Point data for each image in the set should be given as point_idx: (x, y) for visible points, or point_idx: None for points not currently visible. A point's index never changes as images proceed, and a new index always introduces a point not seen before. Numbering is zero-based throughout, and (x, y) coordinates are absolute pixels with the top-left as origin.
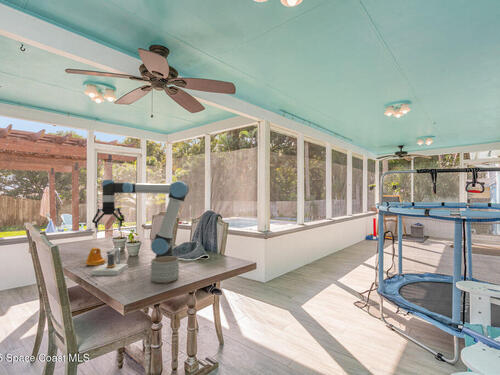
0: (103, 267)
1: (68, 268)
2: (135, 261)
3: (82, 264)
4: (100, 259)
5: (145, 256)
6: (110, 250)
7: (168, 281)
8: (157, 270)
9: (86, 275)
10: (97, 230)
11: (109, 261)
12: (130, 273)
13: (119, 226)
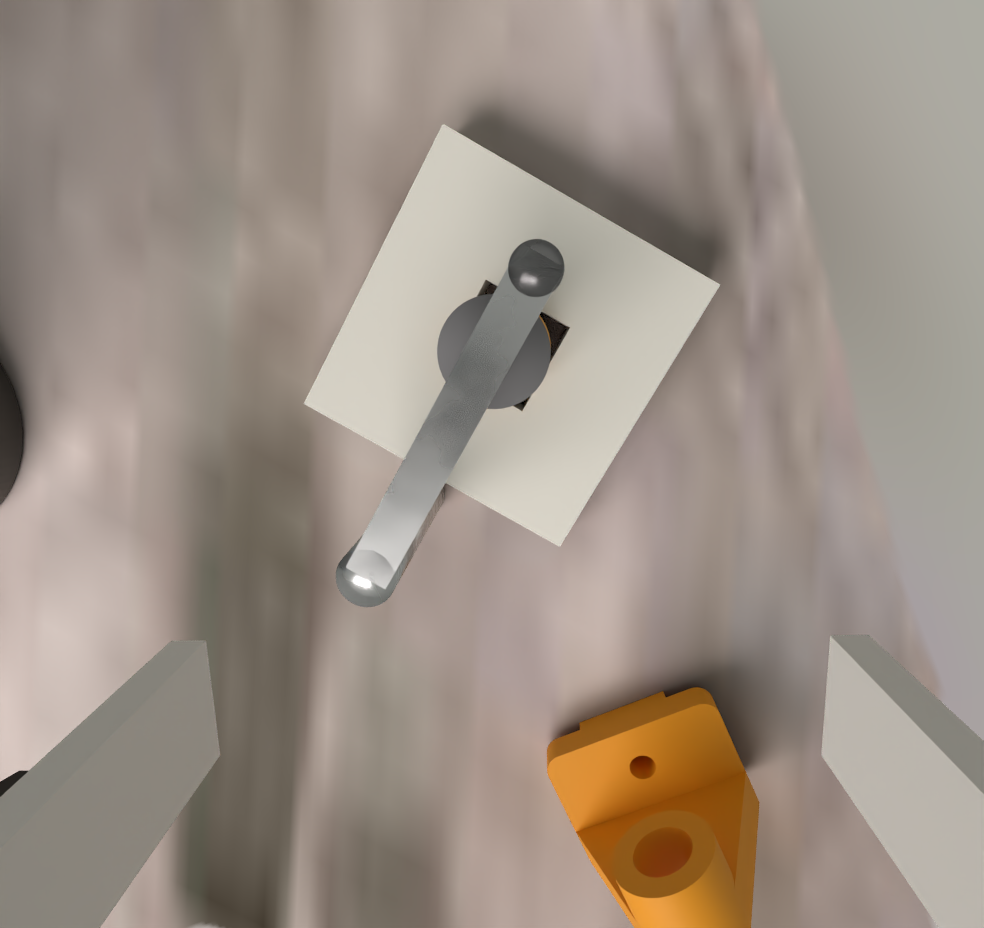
0: (589, 368)
1: None
2: (223, 661)
3: (781, 818)
4: (598, 820)
5: None
6: (499, 378)
7: None
8: None
9: (766, 305)
10: (900, 678)
11: None
12: (303, 136)
13: (103, 730)
